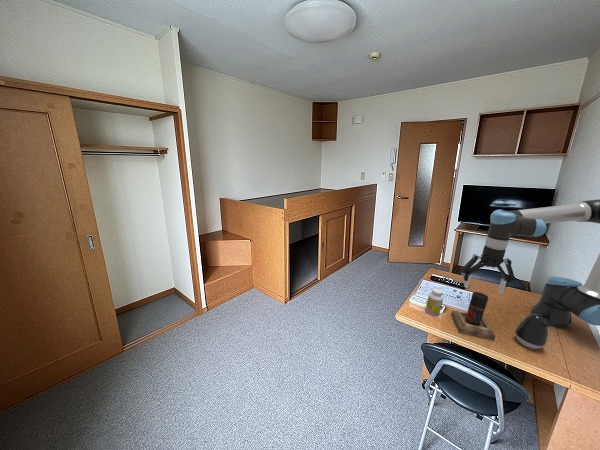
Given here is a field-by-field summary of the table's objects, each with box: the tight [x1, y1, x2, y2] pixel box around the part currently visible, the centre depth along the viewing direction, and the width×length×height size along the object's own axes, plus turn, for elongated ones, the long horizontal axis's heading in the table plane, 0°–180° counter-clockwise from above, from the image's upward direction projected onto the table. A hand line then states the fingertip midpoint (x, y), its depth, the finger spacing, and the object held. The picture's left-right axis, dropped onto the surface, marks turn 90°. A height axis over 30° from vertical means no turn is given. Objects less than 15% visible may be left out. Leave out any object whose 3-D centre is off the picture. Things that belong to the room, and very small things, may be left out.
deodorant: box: [465, 291, 489, 326], centre depth 115 cm, size 6×6×15 cm
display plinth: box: [450, 310, 496, 341], centre depth 118 cm, size 14×14×4 cm
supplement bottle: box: [425, 287, 444, 316], centre depth 126 cm, size 7×7×13 cm
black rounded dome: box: [514, 313, 551, 350], centre depth 106 cm, size 10×10×15 cm
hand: (482, 289), depth 112 cm, fingers open, 13 cm apart
